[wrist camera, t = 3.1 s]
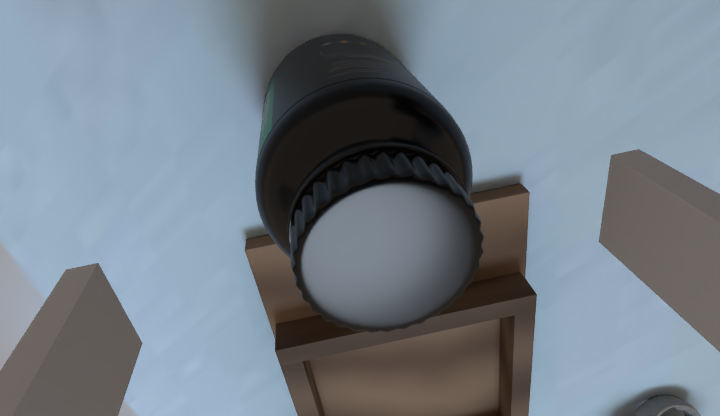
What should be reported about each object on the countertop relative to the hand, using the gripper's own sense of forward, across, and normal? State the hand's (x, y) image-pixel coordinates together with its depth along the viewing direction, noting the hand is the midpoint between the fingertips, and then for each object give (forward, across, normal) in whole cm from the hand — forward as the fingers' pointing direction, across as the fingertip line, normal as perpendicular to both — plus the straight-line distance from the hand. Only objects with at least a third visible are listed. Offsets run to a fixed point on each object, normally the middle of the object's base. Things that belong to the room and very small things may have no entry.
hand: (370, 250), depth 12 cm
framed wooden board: (+11, +2, -16) cm, 19 cm away
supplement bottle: (+11, 0, 0) cm, 11 cm away
